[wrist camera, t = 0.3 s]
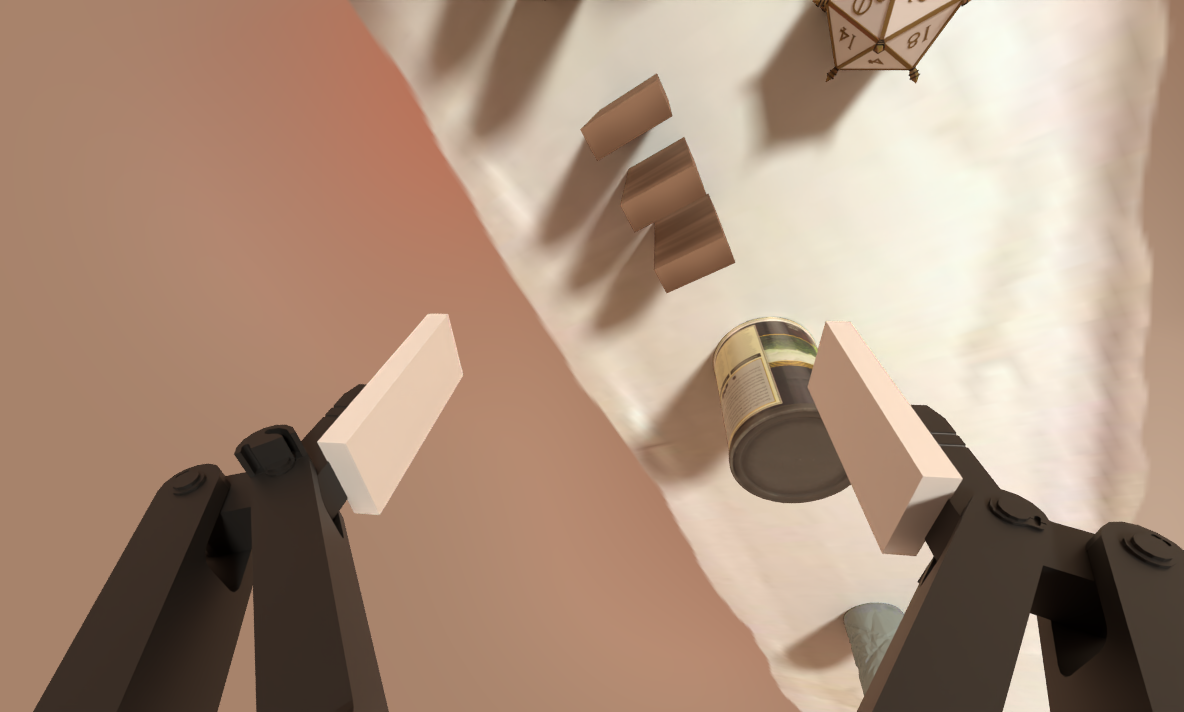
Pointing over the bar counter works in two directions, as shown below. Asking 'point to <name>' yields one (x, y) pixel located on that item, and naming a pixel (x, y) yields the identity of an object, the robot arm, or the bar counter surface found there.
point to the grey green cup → (871, 636)
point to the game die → (884, 32)
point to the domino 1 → (627, 118)
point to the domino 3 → (690, 245)
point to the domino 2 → (661, 185)
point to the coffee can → (775, 413)
